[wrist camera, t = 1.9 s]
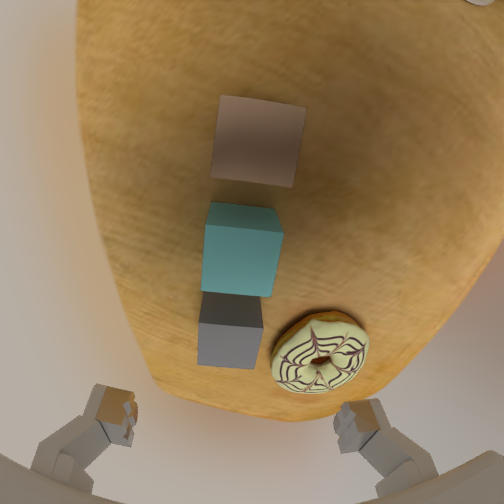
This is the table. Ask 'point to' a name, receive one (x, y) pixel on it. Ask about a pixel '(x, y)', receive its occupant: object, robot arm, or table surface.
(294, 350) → the decorated donut
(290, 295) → the table surface
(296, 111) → the walnut cube
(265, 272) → the teal cube
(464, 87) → the table surface
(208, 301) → the charcoal cube
